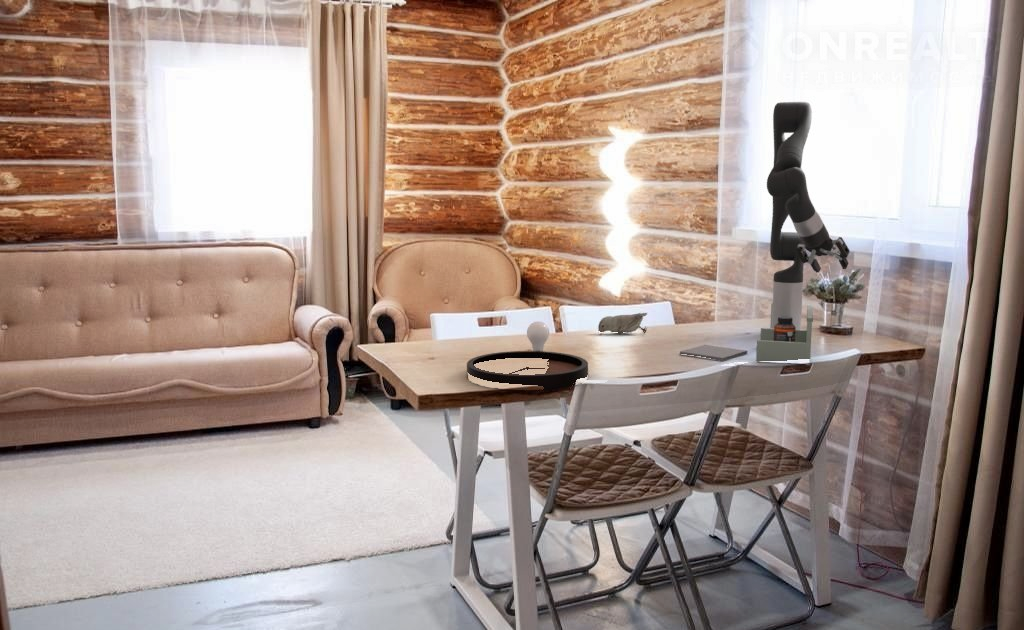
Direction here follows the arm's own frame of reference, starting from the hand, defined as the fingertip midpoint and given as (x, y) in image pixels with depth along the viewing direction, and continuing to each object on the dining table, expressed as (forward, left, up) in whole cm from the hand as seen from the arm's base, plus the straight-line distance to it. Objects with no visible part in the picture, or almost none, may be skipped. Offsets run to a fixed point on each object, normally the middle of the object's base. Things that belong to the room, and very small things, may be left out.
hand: (832, 269), depth 255 cm
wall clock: (+10, -98, -24) cm, 101 cm away
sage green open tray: (+7, -20, -24) cm, 32 cm away
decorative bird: (-41, -49, -24) cm, 68 cm away
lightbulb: (-9, -89, -24) cm, 93 cm away
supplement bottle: (+7, -20, -24) cm, 32 cm away
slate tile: (-1, -38, -24) cm, 45 cm away
